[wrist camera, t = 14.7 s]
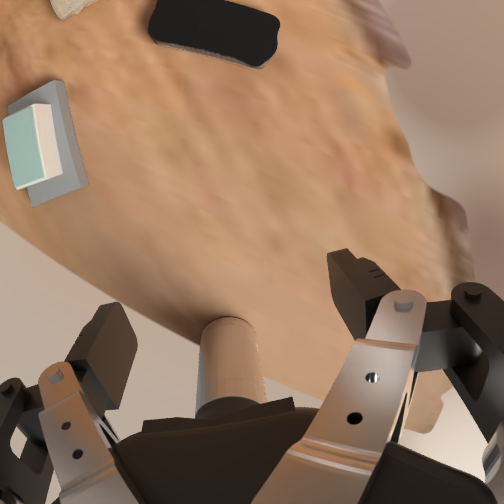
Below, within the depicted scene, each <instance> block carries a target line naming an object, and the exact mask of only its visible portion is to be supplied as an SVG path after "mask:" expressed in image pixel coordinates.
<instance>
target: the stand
mask: <svg viewBox="0 0 504 504" xmlns="http://www.w3.org/2000/svg"><path fill="white" fill-rule="evenodd" d="M32 104H51V110H52V117H53V124H54V130H55V136H56V142H57V147H58V152H59V157H60V162H61V167H62V172H63V174H61V175H58V176H55V177H53V178H50V179H47V180H44V181H41V182H38V183H35V184H33V185H30V186H27V187H26V188H27V191H28V194H29V198H30V201H31V204H32V207H35V206H37V205H39V204H42V203H44V202H47V201H49V200H52V199H54V198H57V197H59V196H62V195H64V194H67V193H69V192H72V191H75V190H77V189H80V188H82V187H84V186H86V185H88V184H89V182H88V178H87V175H86V171H85V168H84V164H83V161H82V157H81V153H80V150H79V146H78V142H77V138H76V134H75V130H74V126H73V122H72V117H71V113H70V108H69V104H68V99H67V94H66V89H65V84H64V82H63V81H59V80H53V81H51V82H49V83H47V84H45V85H43V86H41V87H40V88H38V89H36V90H34V91H32V92H31V93H29V94H27V95H25V96H24V97H22V98H20V99H19V100H17V101H15V102H14V103H12V104H10V105H9V106H7V108H8V113H9V115H11V114H13V113H15V112H17V111H19V110H22V109H24V108H26V107H28V106H30V105H32Z"/></svg>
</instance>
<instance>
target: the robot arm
mask: <svg viewBox="0 0 504 504" xmlns="http://www.w3.org/2000/svg"><path fill="white" fill-rule="evenodd" d="M327 263H328V271H329V278H330V286H331V293H332V298H333V301H334V304H335V306H336V308H337V310H338V312H339V313H340V315H341V317H342V318H343V320H344V322H345V324H346V326H347V327H348V329H349V331H350V333H351V334H352V336H353V338H354V340H355V342H354V344H353V346H352V348H351V350H350V352H349V354H348V356H347V358H346V360H345V362H344V364H343V366H342V368H341V370H340V372H339V374H338V376H337V378H336V380H335V382H334V383H333V385H332V387H331V389H330V391H329V393H328V395H327V396H326V398H325V400H324V402H323V404H322V406H321V407H320V409H317V408H308V407H295V406H294V402H293V398H292V397H289V398H285V399H281V400H276V401H271V402H267V400H266V394H265V388H264V382H263V375H262V369H261V362H260V356H259V349H258V342H257V336H256V333H255V331H254V329H253V327H252V326H251V325H250V324H248V323H247V322H246V321H244V320H241V319H238V318H234V317H224V318H219V319H216V320H214V321H212V322H210V323H209V324H208V325H207V326H206V327H205V328H204V330H203V332H202V334H201V342H200V353H199V366H198V379H197V393H196V411H195V419H192V418H179V417H175V418H165V419H156V420H144V422H143V427H142V432H139V433H136V434H133V435H131V436H129V437H127V438H125V439H124V440H122V441H121V440H120V438H119V436H118V435H117V433H116V431H115V430H114V428H113V426H112V425H111V423H110V421H109V420H108V418H107V417H106V416H105V414H104V413H105V410H115V409H119V406H120V403H121V399H122V396H123V392H124V389H125V386H126V383H127V380H128V376H129V373H130V370H131V367H132V364H133V360H134V357H135V354H136V351H137V338H136V335H135V333H134V331H133V329H132V327H131V324H130V322H129V320H128V318H127V316H126V313H125V311H124V309H123V307H122V305H121V304H120V303H119V302H113V303H109V304H105V305H101V306H99V308H98V310H97V311H96V313H95V315H94V316H93V318H92V320H91V321H90V322H89V323H88V324H87V325H85V326H84V327H83V329H82V331H81V333H80V334H79V337H78V338H77V339H76V341H75V344H74V345H73V346H72V348H71V350H70V352H69V354H68V355H67V357H66V359H65V361H64V362H58V363H55V364H53V365H51V366H49V367H48V368H47V369H45V370H44V371H43V373H42V374H41V375H40V377H39V380H38V384H37V385H34V386H31V387H28V388H26V387H25V385H24V384H23V382H22V381H21V380H20V379H19V378H11V379H8V380H7V381H5V382H3V383H2V384H1V385H0V504H45V501H46V498H47V493H48V489H49V485H50V482H51V478H52V474H53V470H55V473H56V475H57V478H58V481H59V484H60V486H61V492H60V494H59V497H58V498H57V499H56V500H55V501H54V502H53V503H52V504H504V301H503V300H502V299H501V298H500V297H499V296H497V295H496V294H495V293H494V292H493V291H492V290H490V289H489V288H488V287H487V286H485V285H482V284H479V283H475V282H466V283H461V284H459V285H457V286H455V287H454V288H453V290H452V292H451V300H447V301H439V302H427V301H426V299H425V297H424V296H423V295H422V294H420V293H418V292H416V291H412V290H401V289H400V288H399V287H398V286H397V285H396V284H395V283H394V282H393V281H392V279H391V278H390V277H389V276H388V275H386V273H385V272H384V271H383V270H382V269H380V267H379V266H378V265H377V264H376V263H375V262H373V261H371V260H368V259H366V258H359V259H357V258H356V257H355V256H354V255H353V254H352V253H351V252H350V251H349V250H348V249H347V248H346V249H342V250H338V251H334V252H330V253H327ZM440 369H443V371H444V372H445V374H446V375H447V377H448V378H449V380H450V381H451V383H452V384H453V386H454V388H455V389H456V391H457V392H458V394H459V396H460V397H461V399H462V400H463V402H464V403H465V405H466V407H467V409H468V410H469V412H470V414H471V415H472V417H473V419H474V420H475V422H476V424H477V425H478V427H479V429H480V431H481V432H482V434H483V436H484V437H485V439H486V441H487V443H488V445H487V447H486V448H485V451H484V453H483V457H482V463H483V467H484V471H485V476H486V477H485V483H484V482H483V481H481V480H480V479H478V478H477V477H475V476H473V475H471V474H469V473H466V472H463V471H461V470H458V469H456V468H453V467H450V466H448V465H445V464H443V463H440V462H438V461H436V460H433V459H431V458H428V457H426V456H424V455H421V454H419V453H417V452H415V451H412V450H410V449H408V448H406V447H404V446H402V445H399V443H400V440H401V436H402V433H403V430H404V426H405V422H406V418H407V415H408V412H409V408H410V405H411V401H412V398H413V394H414V390H415V387H416V383H417V379H418V375H419V372H424V371H432V370H440ZM16 426H17V427H18V429H19V430H20V431H21V432H22V433H23V434H24V435H25V436H26V437H27V441H26V444H25V446H24V449H23V452H22V454H21V457H20V459H19V458H18V457H17V456H16V455H15V454H14V453H13V452H12V450H11V447H10V439H11V437H12V434H13V432H14V430H15V428H16Z"/></svg>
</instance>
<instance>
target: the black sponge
mask: <svg viewBox="0 0 504 504" xmlns="http://www.w3.org/2000/svg"><path fill="white" fill-rule="evenodd" d="M279 28H280V22H279V20H278V18H276V17H275V16H274V15H271V14H269V13H266V12H263V11H260V10H257V9H254V8H250V7H247V6H244V5H240V4H236V3H232V2H229V1H225V0H158V1H157V4H156V7H155V10H154V12H153V14H152V16H151V19H150V22H149V27H148V32H149V34H150V36H151V38H152V39H153V41H154V42H155V43H156V44H158V45H161V46H165V47H171V48H174V49H179V50H183V51H188V52H193V53H197V54H201V55H205V56H209V57H212V58H216V59H220V60H223V61H226V62H230V63H235V64H238V65H241V66H244V67H247V68H250V69H263V68H264V67H265V66H266V64H267V63H268V61H269V60H270V58H271V57H272V56H273V54H274V53H275V51H276V49H277V44H278V43H277V34H278V31H279Z"/></svg>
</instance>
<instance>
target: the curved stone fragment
mask: <svg viewBox="0 0 504 504" xmlns="http://www.w3.org/2000/svg"><path fill="white" fill-rule="evenodd" d="M49 1H50V3H51V5H52V8H53V10H54V11H55V13H56V15H57V16H58V17H59V18H60V19H61V20H64V19H66V18H68V17H70V16H73V15H75V14H78V13H79V12H80V11H81V10H82V9H83V8H85V7H87V6H89V5H91V4H93V3H96V2H97V1H98V0H49Z"/></svg>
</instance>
